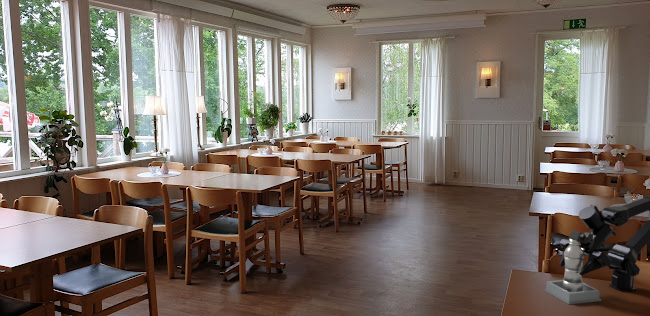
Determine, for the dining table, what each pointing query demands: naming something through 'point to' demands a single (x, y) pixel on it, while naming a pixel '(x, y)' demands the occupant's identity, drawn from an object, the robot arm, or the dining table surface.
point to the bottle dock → (572, 293)
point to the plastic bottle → (573, 267)
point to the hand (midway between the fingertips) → (570, 270)
